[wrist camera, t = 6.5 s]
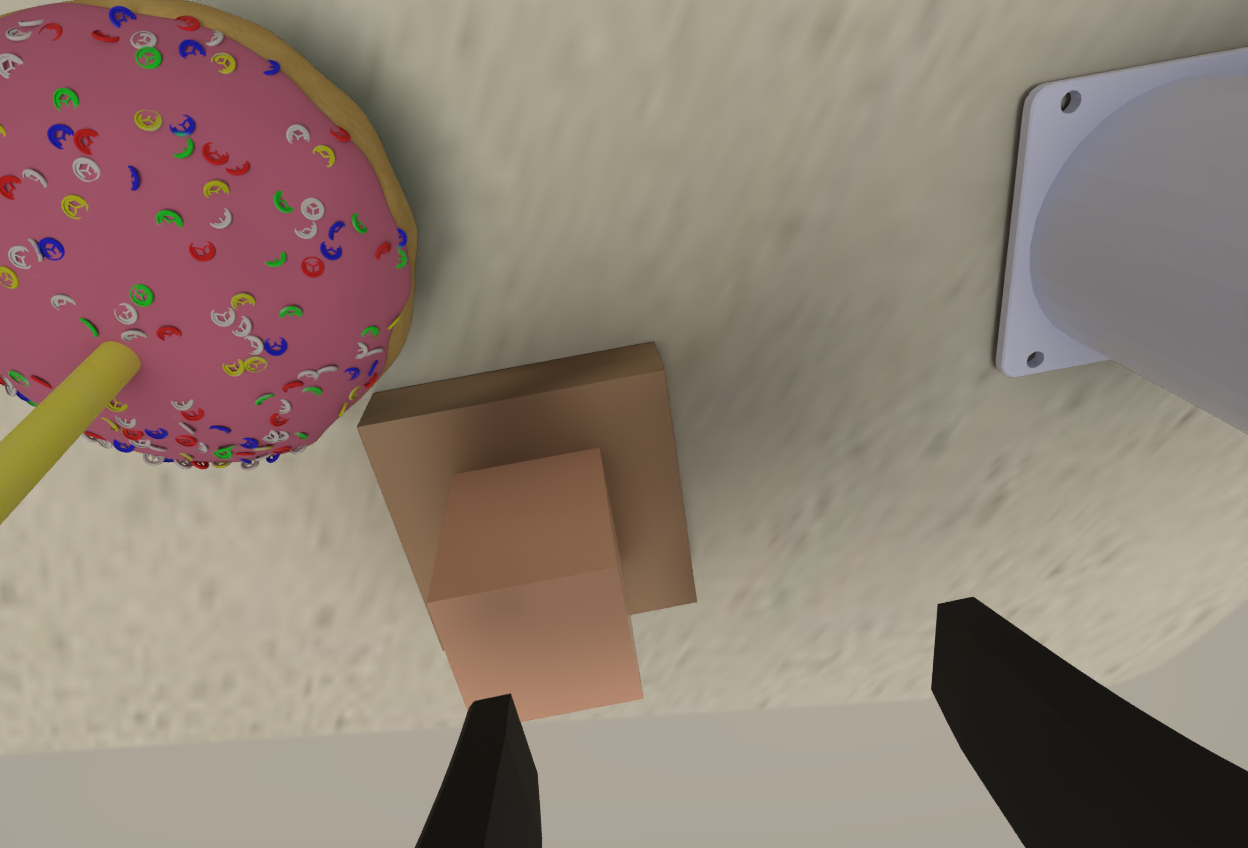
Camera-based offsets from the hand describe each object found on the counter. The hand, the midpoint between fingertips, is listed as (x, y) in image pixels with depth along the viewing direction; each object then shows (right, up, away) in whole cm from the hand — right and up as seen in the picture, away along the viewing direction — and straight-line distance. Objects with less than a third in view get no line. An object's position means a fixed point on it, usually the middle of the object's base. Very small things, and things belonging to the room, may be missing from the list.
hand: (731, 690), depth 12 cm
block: (-4, +2, +8) cm, 9 cm away
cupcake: (-11, +10, +6) cm, 16 cm away
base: (-4, +3, +10) cm, 11 cm away
